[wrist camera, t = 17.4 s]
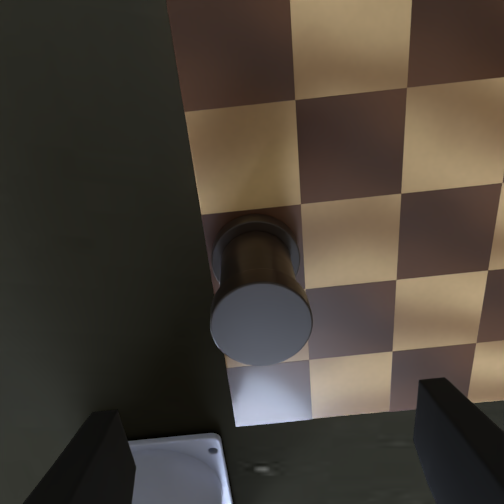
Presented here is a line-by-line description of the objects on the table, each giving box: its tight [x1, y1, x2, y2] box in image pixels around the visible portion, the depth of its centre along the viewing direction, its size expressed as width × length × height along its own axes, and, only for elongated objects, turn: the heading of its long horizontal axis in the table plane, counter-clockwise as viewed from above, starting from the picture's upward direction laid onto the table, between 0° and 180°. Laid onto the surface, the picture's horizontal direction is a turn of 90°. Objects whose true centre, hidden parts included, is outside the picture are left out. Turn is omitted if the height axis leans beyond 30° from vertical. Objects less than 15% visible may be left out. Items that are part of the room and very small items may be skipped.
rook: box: [210, 214, 313, 366], centre depth 17 cm, size 4×4×5 cm
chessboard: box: [166, 0, 504, 427], centre depth 19 cm, size 20×16×1 cm
